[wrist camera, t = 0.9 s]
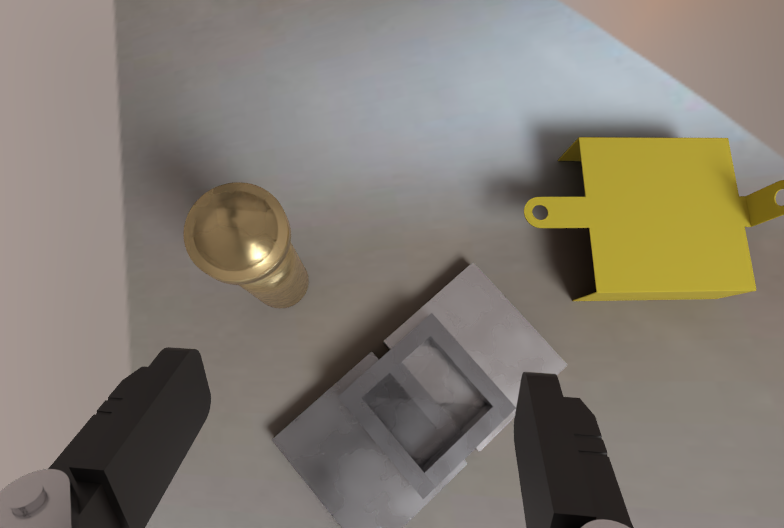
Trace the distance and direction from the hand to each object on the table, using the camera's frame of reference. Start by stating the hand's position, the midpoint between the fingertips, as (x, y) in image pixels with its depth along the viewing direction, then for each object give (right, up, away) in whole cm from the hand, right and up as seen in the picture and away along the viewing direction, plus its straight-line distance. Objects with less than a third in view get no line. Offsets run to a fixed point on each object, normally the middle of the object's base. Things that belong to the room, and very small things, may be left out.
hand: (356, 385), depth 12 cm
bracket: (+17, +5, +24) cm, 29 cm away
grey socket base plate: (+3, -6, +19) cm, 20 cm away
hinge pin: (-6, +2, +21) cm, 22 cm away
